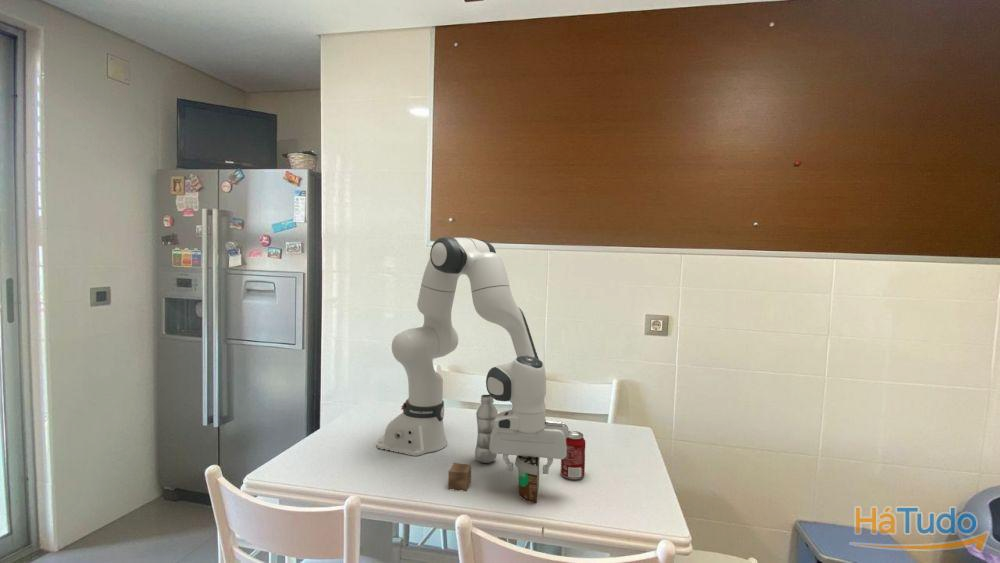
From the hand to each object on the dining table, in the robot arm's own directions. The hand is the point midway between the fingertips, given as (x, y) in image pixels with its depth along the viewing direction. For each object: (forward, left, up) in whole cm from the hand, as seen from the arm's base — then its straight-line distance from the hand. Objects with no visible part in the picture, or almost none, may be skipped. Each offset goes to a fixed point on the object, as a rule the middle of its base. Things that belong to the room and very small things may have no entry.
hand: (527, 471), depth 117 cm
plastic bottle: (-14, +16, -6) cm, 22 cm away
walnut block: (-18, 0, -6) cm, 19 cm away
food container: (0, 0, -6) cm, 6 cm away
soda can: (+12, +12, -6) cm, 18 cm away
